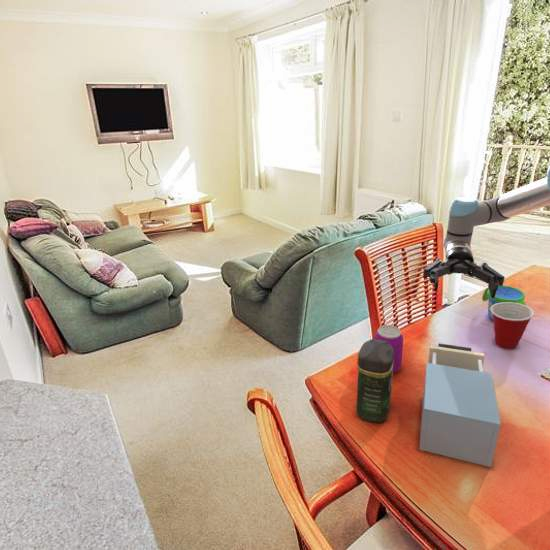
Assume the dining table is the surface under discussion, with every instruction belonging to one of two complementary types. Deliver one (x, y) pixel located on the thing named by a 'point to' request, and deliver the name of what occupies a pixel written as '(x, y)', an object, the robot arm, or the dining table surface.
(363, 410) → the coffee jar
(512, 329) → the plastic cup
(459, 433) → the cabinet
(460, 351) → the drawer
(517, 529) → the dining table surface
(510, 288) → the snack cup
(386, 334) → the beverage can
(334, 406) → the dining table surface
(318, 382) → the dining table surface
